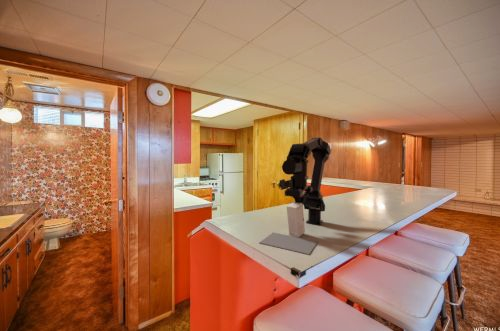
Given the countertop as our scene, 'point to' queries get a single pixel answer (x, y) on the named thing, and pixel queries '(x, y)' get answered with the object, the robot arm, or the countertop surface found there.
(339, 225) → the countertop surface
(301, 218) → the skincare box
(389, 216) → the countertop surface
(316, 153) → the robot arm
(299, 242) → the mat
